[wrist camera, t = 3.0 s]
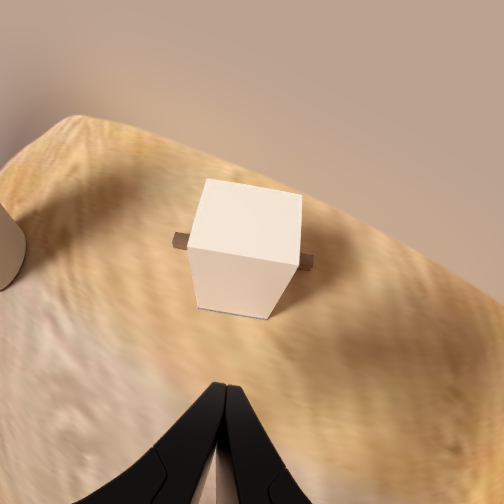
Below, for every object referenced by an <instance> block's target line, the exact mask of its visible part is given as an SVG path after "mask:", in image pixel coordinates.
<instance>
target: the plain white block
mask: <svg viewBox="0 0 504 504" xmlns="http://www.w3.org/2000/svg"><path fill="white" fill-rule="evenodd" d="M301 218H302V195H300V194H295V193H290V192H284V191H279V190H274V189H268V188H263V187H257V186H251V185H245V184H239V183H233V182H227V181H220V180H214V179H207V180H206V183H205V186H204V189H203V193H202V196H201V199H200V202H199V206H198V209H197V213H196V216H195V219H194V223H193V226H192V230H191V233H190V237H189V241H188V244H187V250H188V256H189V262H190V268H191V273H192V279H193V284H194V290H195V295H196V300H197V305H198V309H204V310H209V311H215V312H220V313H226V314H232V315H238V316H244V317H250V318H257V319H263V320H267V319H268V317H269V315H270V314H271V312H272V310H273V309H274V307H275V305H276V304H277V302H278V300H279V299H280V297H281V295H282V294H283V292H284V290H285V289H286V287H287V285H288V283H289V282H290V280H291V278H292V277H293V275H294V273H295V271H296V270H297V268H298V266H299V257H300V239H301Z"/></svg>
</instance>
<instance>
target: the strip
mask: <svg viewBox="0 0 504 504" xmlns="http://www.w3.org/2000/svg"><path fill="white" fill-rule="evenodd" d="M189 237H190V234H184V233H178V232H175V235H174V238H173V241H172V243H173V247H174V248H178V249H184V250H187V244H188V241H189ZM312 266H313V255H307V254H302V253H300V257H299V266H298V268H297V269H302V270H308V271H310V269H311V268H312Z"/></svg>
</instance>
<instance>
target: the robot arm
mask: <svg viewBox="0 0 504 504" xmlns="http://www.w3.org/2000/svg"><path fill="white" fill-rule="evenodd" d="M216 444H217V445H216ZM215 449H216V504H312V503H311V501H310V500H309V499H308V498H307V497H306V495H305V494H304V493H303V492H302V490H301V489H300V487H299V486H298V484H297V483H296V481H295V480H294V479H293V477H292V475H291V474H290V472H289V470H288V469H287V468H286V466H285V464H284V462H283V461H282V459H281V457H280V456H279V454H278V452H277V451H276V449H275V447H274V445H273V444H272V442H271V440H270V439H269V437H268V435H267V433H266V432H265V430H264V428H263V426H262V424H261V423H260V421H259V419H258V417H257V415H256V414H255V412H254V410H253V408H252V406H251V404H250V403H249V401H248V399H247V397H246V395H245V393H244V391H243V389H242V388H241V387H240V386H236V385H230V384H229V385H226V384H224V383H219V382H212V383H211V384H210V386H209V387H208V388H207V389H206V390H205V391H204V392H203V393H202V394H201V396H200V397H199V398H198V399H197V400H196V401H195V402H194V403H193V404H192V405H191V406H190V407H189V409H188V410H187V411H186V412H185V413H184V414H183V415H182V416H181V417H180V418H179V419H178V420H177V421H176V422H175V423H174V425H173V426H172V427H171V428H170V429H169V430H168V431H167V432H166V433H165V434H164V435H163V436H162V437H161V438H160V439H159V440H158V441H157V442H156V443H155V444H154V445H153V447H151V448H150V449H149V450H148V451H147V452H146V453H145V454H144V455H143V456H142V457H141V458H140V459H139V460H138V461H136V462H135V463H134V464H133V465H132V466H131V467H129V468H128V469H127V470H125V471H124V472H123V473H121V474H120V475H119V476H117V477H116V478H114V479H113V480H111V481H110V482H108V483H107V484H105V485H104V486H102V487H101V488H99V489H98V490H96V491H94V492H93V493H91V494H90V495H88V496H86V497H85V498H83V499H81V500H79V501H77V502H75V503H72V504H198V503H199V500H200V497H201V494H202V491H203V488H204V485H205V481H206V478H207V475H208V472H209V469H210V466H211V462H212V459H213V456H214V452H215Z"/></svg>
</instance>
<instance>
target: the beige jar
mask: <svg viewBox="0 0 504 504" xmlns="http://www.w3.org/2000/svg"><path fill="white" fill-rule="evenodd" d="M25 251H26V239H25V235H24V233H23V231H22V230H21V228H20V227H19V226H18V225H17V224H16V222H15V221H14V220H13V219H12V218H11V216H10V215H9V214H8V213H7V211H6V210H5V209H4V207H3V206H2V205H1V204H0V290H2V289H3V288H5V287H6V286H7V285H8V284H9V283H10V282H11V281H12V280H13V279H14V278H15V276H16V275H17V273H18V271H19V269H20V267H21V265H22V262H23V259H24V256H25Z"/></svg>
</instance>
